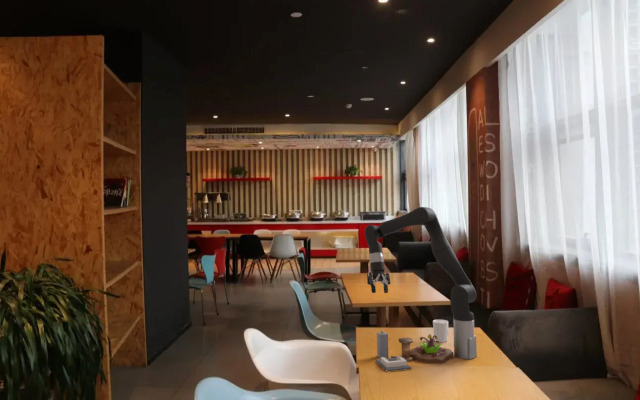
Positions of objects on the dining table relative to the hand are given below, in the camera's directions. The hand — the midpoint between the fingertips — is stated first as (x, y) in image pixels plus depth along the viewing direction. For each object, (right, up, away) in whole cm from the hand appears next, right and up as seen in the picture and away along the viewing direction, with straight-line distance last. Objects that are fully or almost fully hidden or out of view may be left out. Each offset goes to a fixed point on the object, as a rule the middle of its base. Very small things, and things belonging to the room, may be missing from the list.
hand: (380, 292), depth 248 cm
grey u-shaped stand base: (+1, -25, -38) cm, 45 cm away
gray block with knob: (-2, -25, -25) cm, 36 cm away
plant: (+20, -25, -26) cm, 42 cm away
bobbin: (+7, -25, -28) cm, 38 cm away
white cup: (+32, -25, -1) cm, 40 cm away
